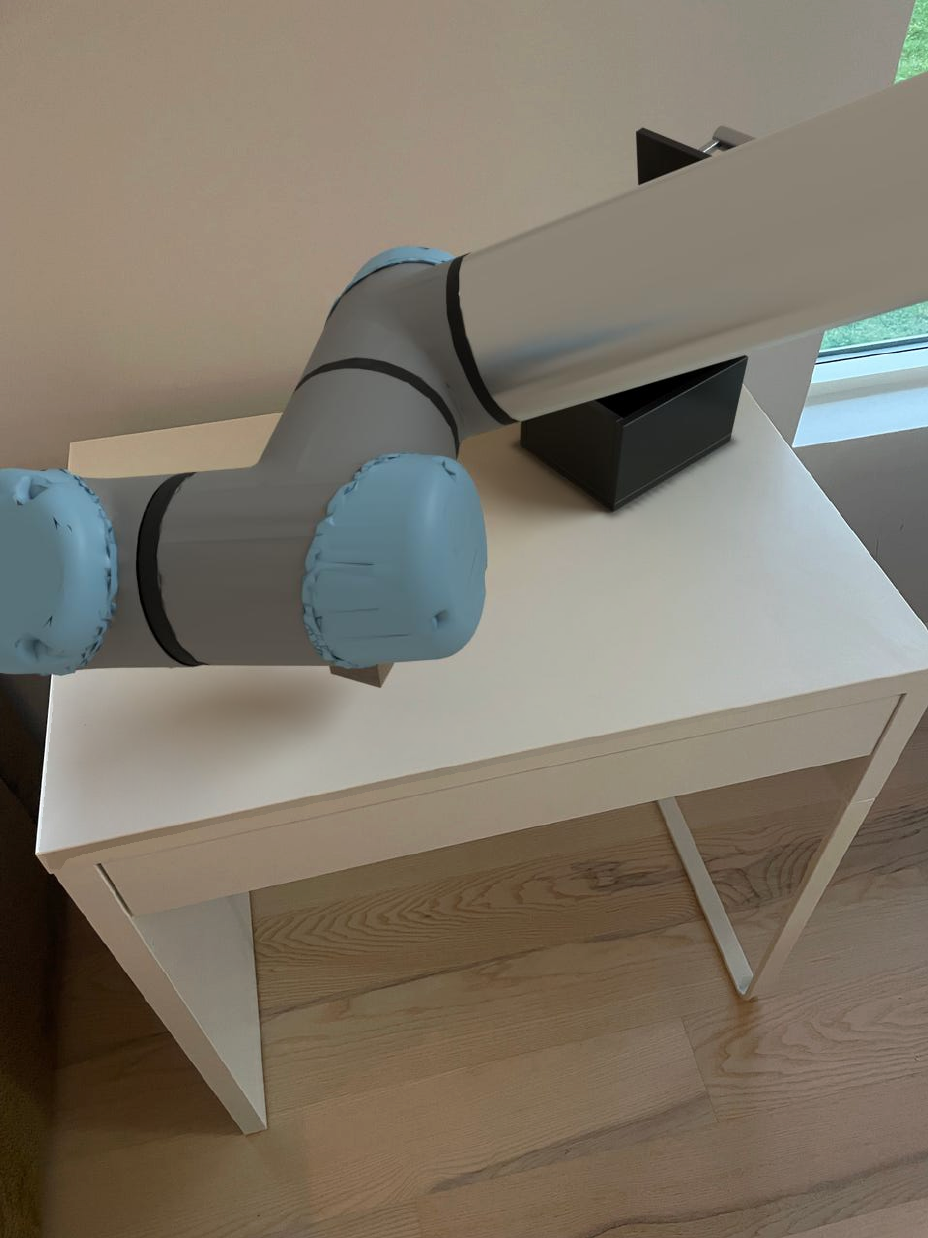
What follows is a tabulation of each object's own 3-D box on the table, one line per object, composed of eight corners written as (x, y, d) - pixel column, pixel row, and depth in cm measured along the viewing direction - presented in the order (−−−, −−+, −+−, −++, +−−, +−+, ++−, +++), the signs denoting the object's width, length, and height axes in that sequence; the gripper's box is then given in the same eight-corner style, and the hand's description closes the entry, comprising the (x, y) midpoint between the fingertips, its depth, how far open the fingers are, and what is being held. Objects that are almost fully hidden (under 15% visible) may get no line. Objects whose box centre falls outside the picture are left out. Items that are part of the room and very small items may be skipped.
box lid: (758, 182, 73) (821, 136, 75) (635, 131, 80) (695, 90, 81) (746, 354, 86) (800, 312, 88) (642, 298, 93) (694, 260, 95)
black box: (613, 512, 87) (623, 426, 80) (519, 445, 94) (521, 361, 87) (730, 441, 94) (749, 356, 87) (634, 383, 100) (645, 300, 94)
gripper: (63, 610, 51) (272, 607, 73) (357, 697, 46) (484, 665, 69) (91, 470, 50) (294, 509, 73) (392, 544, 46) (509, 562, 68)
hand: (386, 585), depth 71 cm, fingers closed on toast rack, 4 cm apart
